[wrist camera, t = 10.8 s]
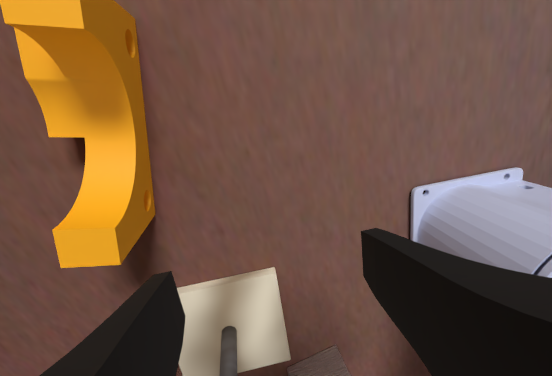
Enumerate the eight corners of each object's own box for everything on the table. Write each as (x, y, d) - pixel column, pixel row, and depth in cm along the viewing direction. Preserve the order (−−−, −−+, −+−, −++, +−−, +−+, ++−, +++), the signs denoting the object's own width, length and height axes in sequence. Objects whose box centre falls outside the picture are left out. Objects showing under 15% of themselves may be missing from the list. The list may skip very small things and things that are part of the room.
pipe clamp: (52, 13, 15) (-72, -49, 9) (136, 19, 16) (74, -34, 10) (88, 215, 19) (18, 270, 12) (156, 213, 19) (120, 264, 13)
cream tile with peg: (274, 267, 22) (285, 312, 17) (289, 351, 24) (302, 411, 20) (158, 292, 21) (137, 347, 16) (188, 376, 24) (176, 445, 19)
